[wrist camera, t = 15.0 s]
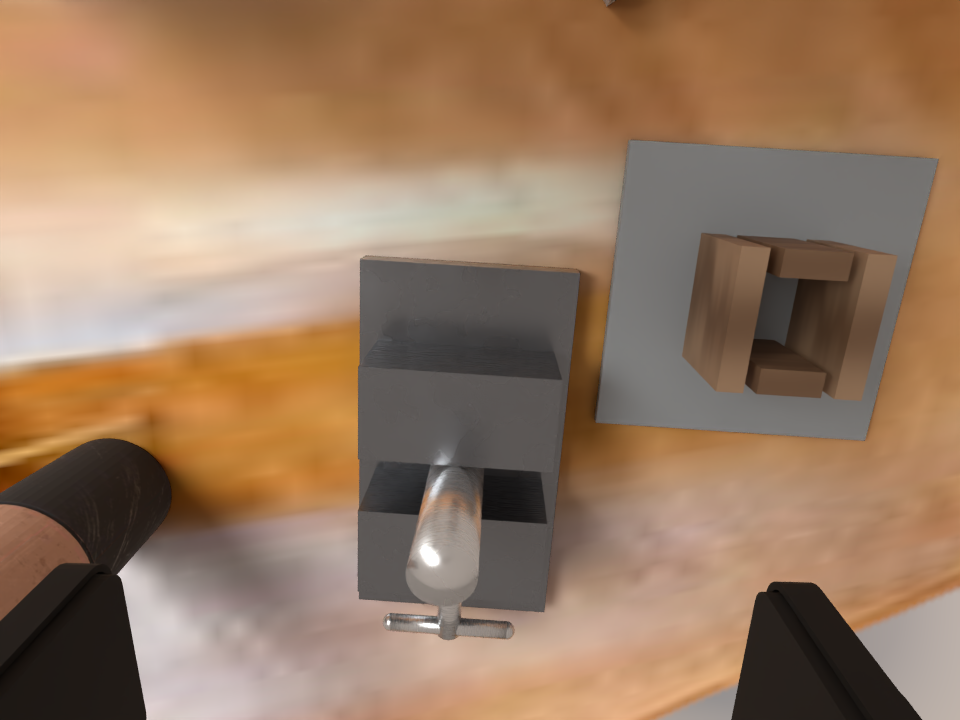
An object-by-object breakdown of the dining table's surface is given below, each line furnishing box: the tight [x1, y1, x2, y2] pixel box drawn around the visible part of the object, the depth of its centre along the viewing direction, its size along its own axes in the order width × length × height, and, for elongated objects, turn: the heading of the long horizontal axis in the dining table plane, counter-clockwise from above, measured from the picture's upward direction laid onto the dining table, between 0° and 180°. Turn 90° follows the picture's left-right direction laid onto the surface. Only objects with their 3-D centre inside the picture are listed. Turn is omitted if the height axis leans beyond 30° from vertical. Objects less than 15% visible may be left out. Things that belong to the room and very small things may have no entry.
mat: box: [595, 140, 939, 441], centre depth 35 cm, size 16×16×1 cm
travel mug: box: [0, 439, 171, 621], centre depth 31 cm, size 8×8×20 cm
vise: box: [358, 256, 580, 640], centre depth 32 cm, size 22×12×14 cm, turn 177°
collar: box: [682, 233, 898, 401], centre depth 32 cm, size 7×7×6 cm
